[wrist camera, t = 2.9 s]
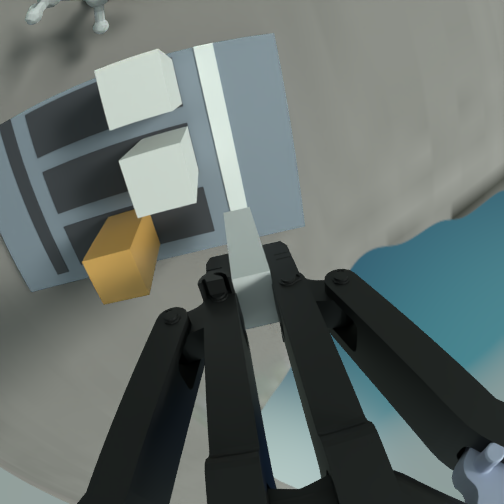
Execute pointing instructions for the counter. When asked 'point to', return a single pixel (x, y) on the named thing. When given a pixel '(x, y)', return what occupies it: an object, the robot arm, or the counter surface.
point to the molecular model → (98, 3)
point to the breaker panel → (251, 143)
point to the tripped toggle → (123, 257)
